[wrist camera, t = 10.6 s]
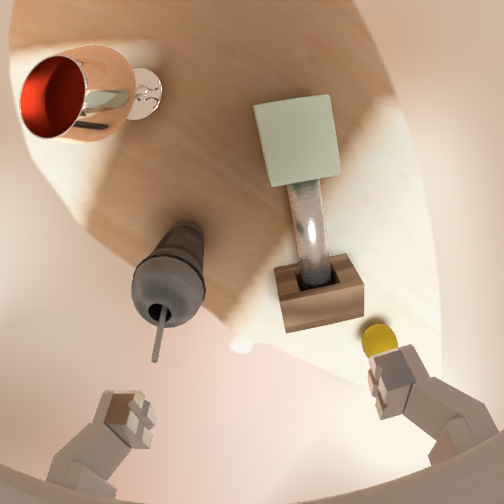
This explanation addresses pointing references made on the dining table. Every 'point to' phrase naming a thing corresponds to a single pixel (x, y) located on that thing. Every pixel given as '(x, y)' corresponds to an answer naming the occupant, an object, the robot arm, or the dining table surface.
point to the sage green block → (298, 139)
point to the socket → (320, 296)
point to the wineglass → (86, 95)
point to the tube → (310, 233)
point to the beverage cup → (171, 280)
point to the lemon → (378, 340)
